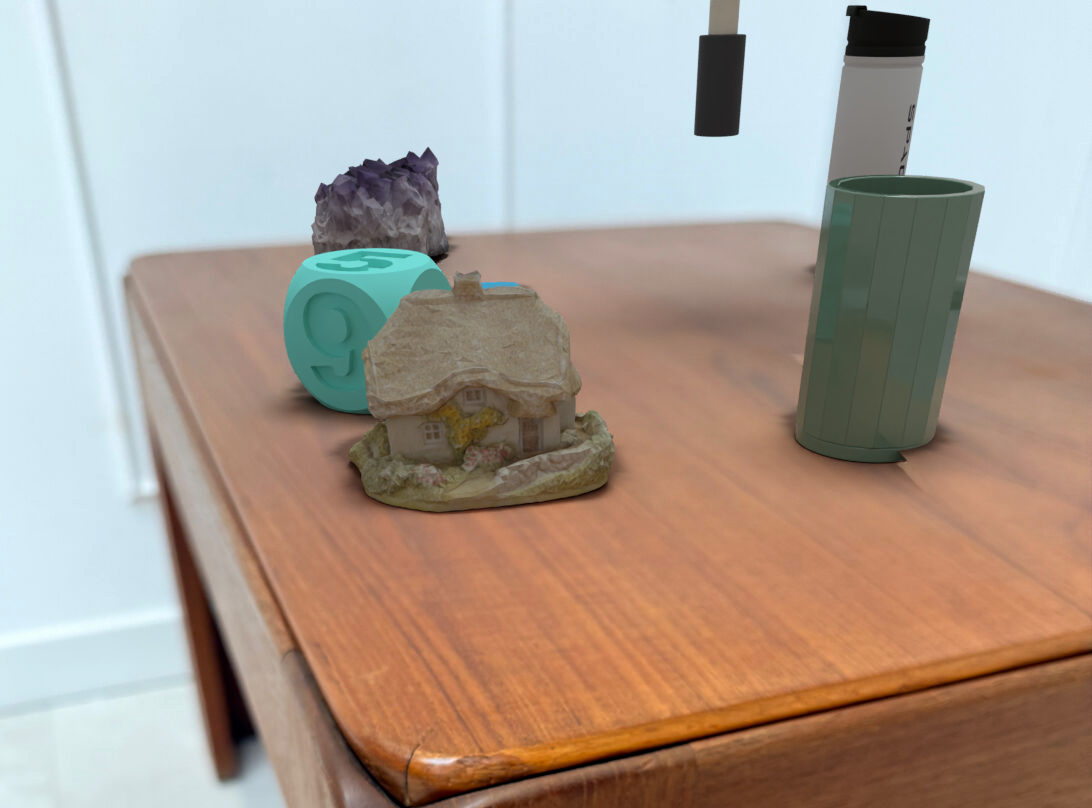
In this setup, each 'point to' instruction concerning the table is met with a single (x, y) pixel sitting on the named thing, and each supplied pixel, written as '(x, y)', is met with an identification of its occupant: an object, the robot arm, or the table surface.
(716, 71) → the marker
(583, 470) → the ceramic model
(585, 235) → the table surface
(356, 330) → the decorative dice
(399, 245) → the geode
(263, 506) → the table surface
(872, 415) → the green pencil cup
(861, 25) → the travel mug
